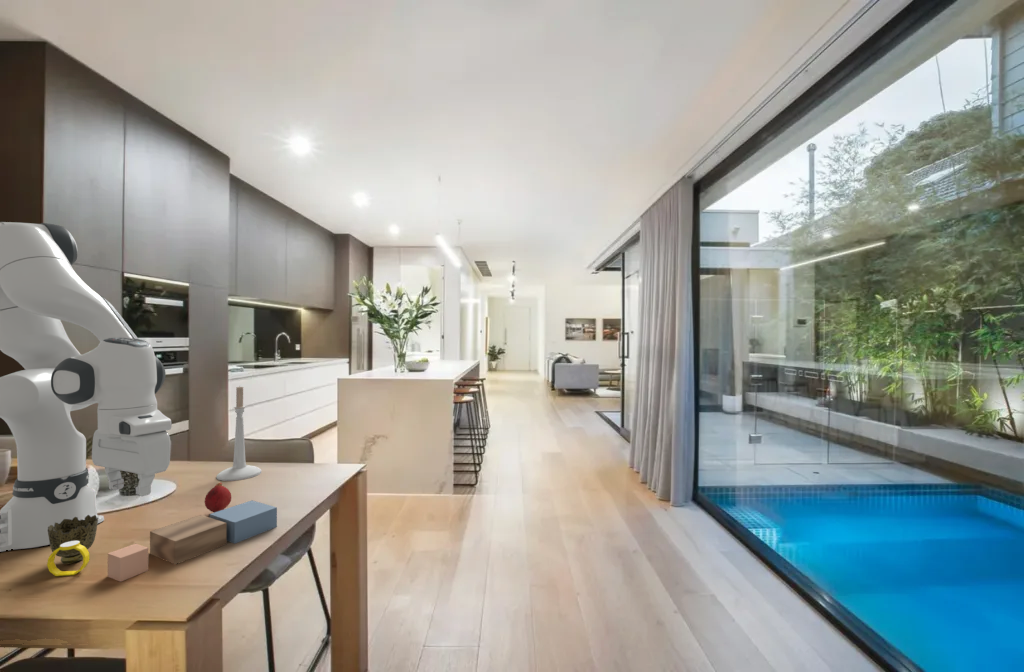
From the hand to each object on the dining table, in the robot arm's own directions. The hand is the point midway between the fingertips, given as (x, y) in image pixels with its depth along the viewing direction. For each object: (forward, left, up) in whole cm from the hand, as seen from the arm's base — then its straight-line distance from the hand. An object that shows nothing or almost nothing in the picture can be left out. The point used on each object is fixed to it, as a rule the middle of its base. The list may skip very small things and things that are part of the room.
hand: (129, 492), depth 86 cm
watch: (-10, -5, -16) cm, 20 cm away
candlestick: (-41, +50, -16) cm, 67 cm away
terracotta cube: (0, 0, -16) cm, 16 cm away
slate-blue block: (+2, +22, -16) cm, 27 cm away
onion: (-14, +26, -16) cm, 34 cm away
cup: (-16, -2, -16) cm, 23 cm away
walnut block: (0, +11, -16) cm, 19 cm away
